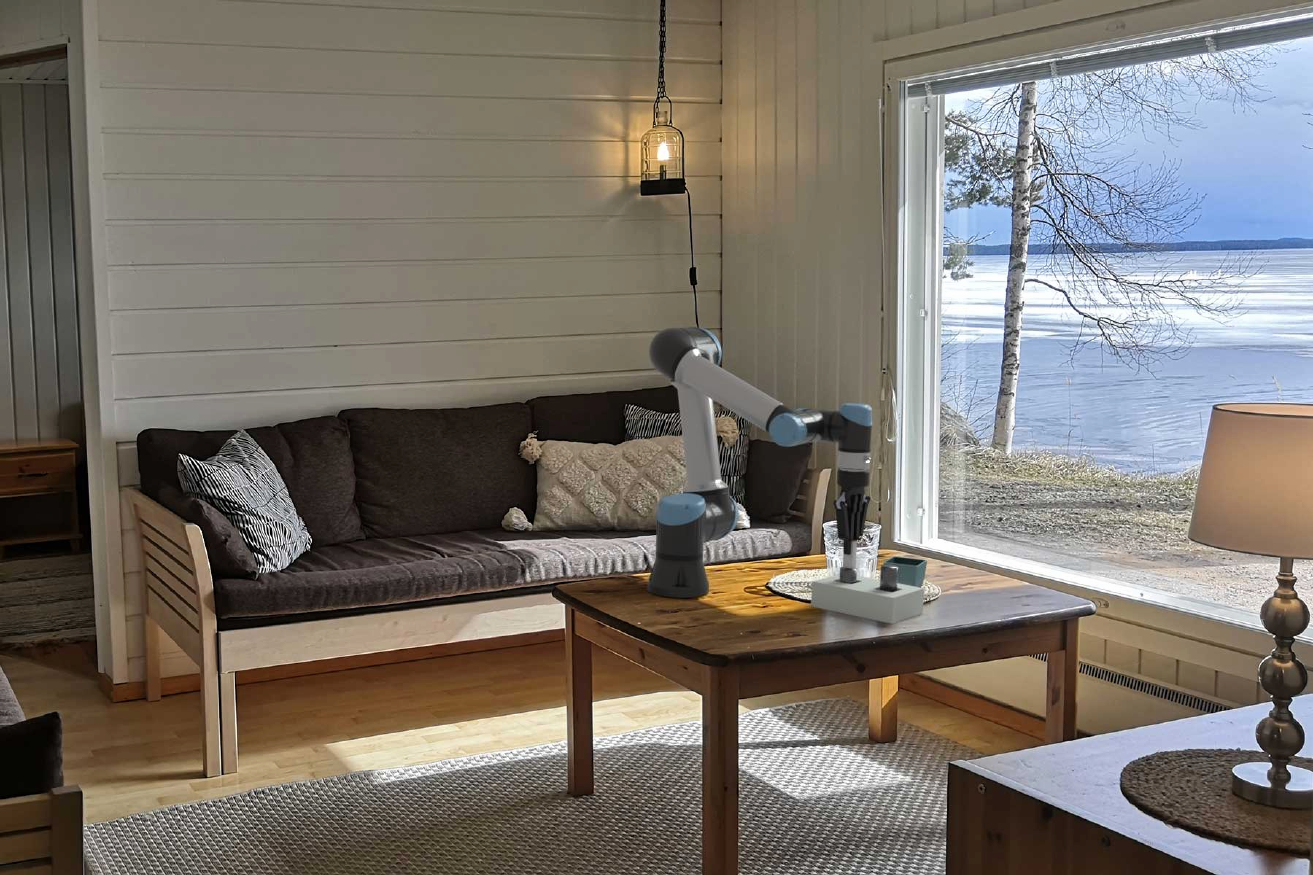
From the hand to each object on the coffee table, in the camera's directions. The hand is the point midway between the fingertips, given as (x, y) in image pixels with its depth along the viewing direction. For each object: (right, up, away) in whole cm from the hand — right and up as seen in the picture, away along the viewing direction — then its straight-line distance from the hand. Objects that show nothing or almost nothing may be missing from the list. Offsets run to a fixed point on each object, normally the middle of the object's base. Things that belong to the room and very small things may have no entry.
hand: (849, 567), depth 309 cm
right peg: (+8, -5, -7) cm, 12 cm away
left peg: (0, -7, +1) cm, 7 cm away
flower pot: (+15, -9, +13) cm, 22 cm away
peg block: (+4, -10, -2) cm, 11 cm away
